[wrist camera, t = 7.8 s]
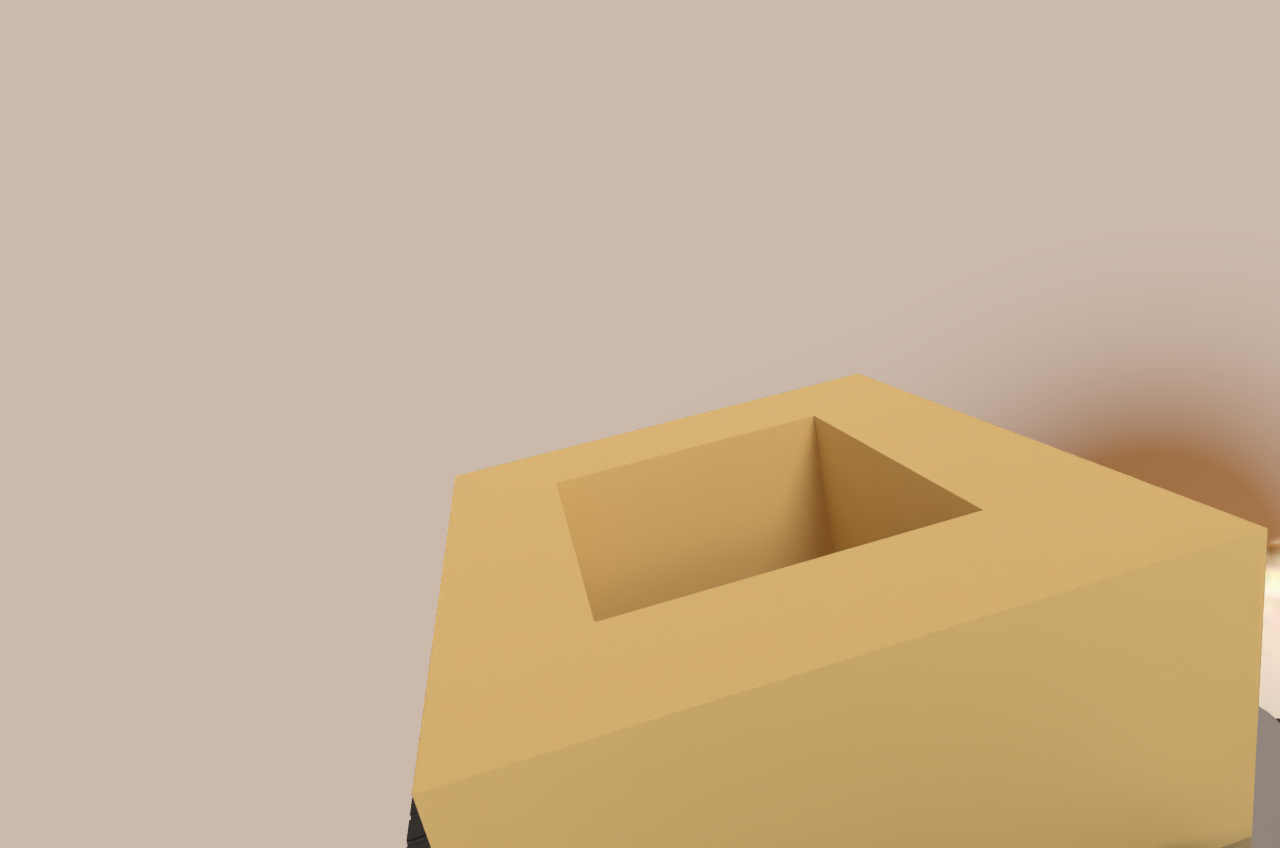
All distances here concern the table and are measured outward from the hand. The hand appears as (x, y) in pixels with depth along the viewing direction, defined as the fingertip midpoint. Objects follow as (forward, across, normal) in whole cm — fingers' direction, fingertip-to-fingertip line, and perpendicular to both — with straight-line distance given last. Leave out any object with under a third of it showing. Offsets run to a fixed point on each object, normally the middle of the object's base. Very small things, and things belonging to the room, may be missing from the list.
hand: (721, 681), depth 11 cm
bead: (-2, 0, +6) cm, 6 cm away
